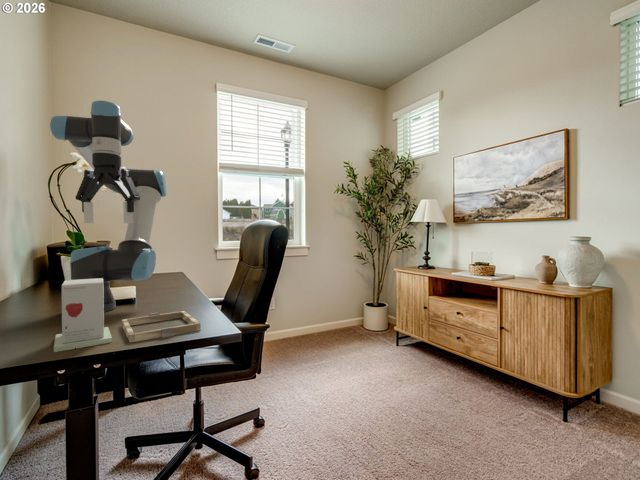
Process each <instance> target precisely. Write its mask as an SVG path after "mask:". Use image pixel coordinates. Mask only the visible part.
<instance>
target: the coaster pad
mask: <svg viewBox="0 0 640 480" xmlns="http://www.w3.org/2000/svg"><path fill="white" fill-rule="evenodd" d="M112 342H113V337H112V334H111V331H110V329H109V326H104V337H103V338H96V339H89V340H82V341H75V342H68V343H62V333H58V334H55V338H54V343H53V344H54V345H53V353H58V352H64V351H70V350H75V348H76V349H79V348H80V349H82V348H85V347H92V346H99V345H104V344H109V343H112Z"/></svg>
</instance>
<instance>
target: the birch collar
mask: <svg viewBox="0 0 640 480" xmlns="http://www.w3.org/2000/svg"><path fill="white" fill-rule="evenodd" d="M176 319H183V321H185V322H186V323H187V324H183V325H182V324H181V325H176V326H169V327H163V328H158V329H151V330H144V331H140V332H134V330H133V328H132V327H131V326H137V325H143V324H150V323H151V324H152V323H156V322H164V321H170V320H176ZM121 326H122V330H124V334H125V336H126V337H127V340H128V342H129V343H134V342H135V343H136V342H142V341H146V340H152V339H159V338H162V339H163V338H164V339H165V338H169V337H174V336H175V335H176V336H177V335H181V334H188V333H192V332H196V331H201V322H199V321H198V320H197V319H196V318H194V317H193V316H192V315H190V314H189V313H188V312H186V310H182V311H173V312H166V313H160V312H153V313H148V315H146V316H145V315H144V316H139V317H138V316H136V317H130V318H125V319H121Z"/></svg>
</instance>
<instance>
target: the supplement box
mask: <svg viewBox="0 0 640 480" xmlns="http://www.w3.org/2000/svg"><path fill="white" fill-rule="evenodd" d="M104 327H105V312H104V284H103V278H96V279H80V280H71V279H67V280H64V281H63V283H62V284H61V334H62V343H68V342H75V341H82V340H89V339H96V338H103V337H104Z"/></svg>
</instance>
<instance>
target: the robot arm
mask: <svg viewBox="0 0 640 480" xmlns="http://www.w3.org/2000/svg"><path fill="white" fill-rule="evenodd" d="M90 116H91V117H84V116H83V117H82V116H70V115H53V116H52V117H51V119H50V122H49V128H50V131H51V134H52V135H53V138H55V139H57V140H61V141H68V142H69V144H71V145H72V146H73V148H74V149H75V150H76V151H77V152H78V153H79V155H80V156H81V157H82V158H83V159H84V160H85V162H86V163H87V164H88V165H89V166H90V168H91V169H92V170H90V169H84V171H83V178H82V181H81V183H80V186H79V188H78V189H77V190H78V191H77V192H76V195H75V200H77V201H80V202H81V211H82V213H83V223H84V224H94V203H93V202H92V201H93V198H94V197H95V196H96V194H97V193H98V192H99V190H100V189H101V188H102V187H103V186H104V187H106V188H107V189H109V190H110V191H112V192H115V193H116V194H119V195H121V196H122V197H123V198H124V201H123V203H122V204H123V205H122V206H123V208H122V209H123V224H127V227H126V232H125V236H124V240H122V241H121V242H119V244H118V246H117V249H110V246H109V245H103V246H95V247H93V246H92V247H88V248H87V247H86V248H80V249H74V250H72V252H71V253H70V261H69V265H70V280H80V279H96V278H103V284H104V313H106V312H110V311H112V310H114V309H116V305H117V303H116V299H115V296H114V295H113V292H112V290H111V287H110V286H111V285H110V284H111V282H121V281H122V282H123V281H124V282H125V281H129V282H130V281H134V282H135V281H136V282H138V281H143V280H144V281H145V280H148V279H149V278H151V276H152V275H153V273H154V270H155V268H156V260H157V256H156V255H157V253H156V251H155V250H154V249H153V247H152V245H150V239H151V235H152V229H153V223H154V216H155V212H156V207H157V204H158V203H160V201H161V199H162V198H164V197H167V185H166V183H167V182H166V177H165V175H164V173H163V171H162V170H158V169H157V170H156V169H136V168H134V169H133V168H122V156H121V155H122V147H125V146H129V145H130V144H131V143H132V142H133V140H134V136H135V135H134V131H133V130H132V128H131V127H130V126H129V125H128V124H127V123H126V122H124V120H122V118H121V117H122V114H121V108H120V106H119V105H118V104H116V103H115V102H112V101H107V100H95V101H92V102H91V108H90Z"/></svg>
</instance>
